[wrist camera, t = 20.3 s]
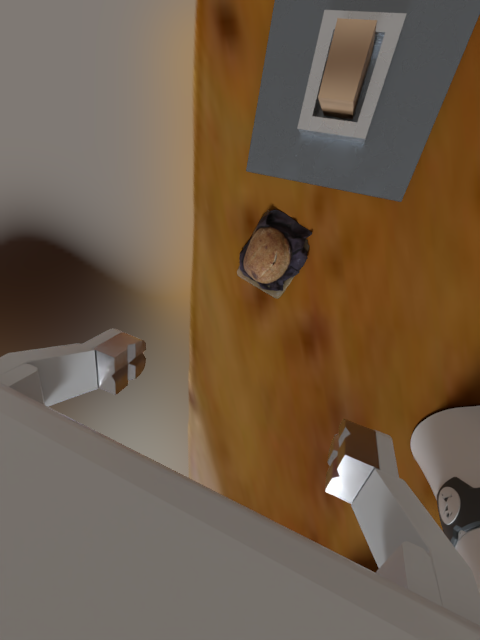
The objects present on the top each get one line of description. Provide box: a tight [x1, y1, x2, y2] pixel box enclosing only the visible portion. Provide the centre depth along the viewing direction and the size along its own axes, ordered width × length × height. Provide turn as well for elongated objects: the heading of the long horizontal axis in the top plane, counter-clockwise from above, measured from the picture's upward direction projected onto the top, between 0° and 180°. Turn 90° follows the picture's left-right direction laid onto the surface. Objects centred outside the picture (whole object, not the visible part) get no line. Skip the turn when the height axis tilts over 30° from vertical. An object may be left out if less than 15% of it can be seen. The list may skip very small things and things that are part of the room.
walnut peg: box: [318, 18, 377, 119], centre depth 25 cm, size 5×3×6 cm, turn 170°
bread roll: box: [237, 210, 312, 298], centre depth 36 cm, size 11×8×4 cm
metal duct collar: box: [246, 0, 480, 202], centre depth 27 cm, size 18×18×4 cm
